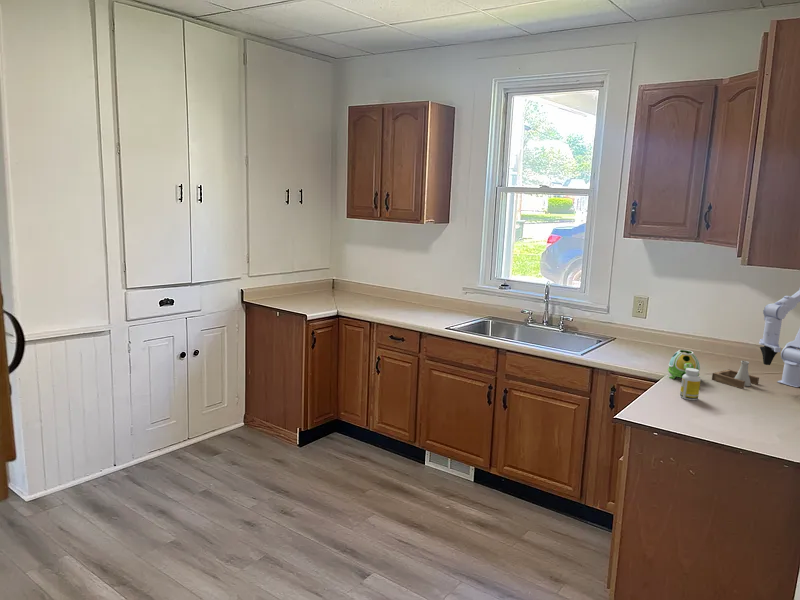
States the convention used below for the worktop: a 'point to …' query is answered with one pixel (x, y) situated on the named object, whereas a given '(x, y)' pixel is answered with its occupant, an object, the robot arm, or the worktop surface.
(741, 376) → the flask
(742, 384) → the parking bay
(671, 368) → the turtle holder
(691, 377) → the pill bottle
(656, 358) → the worktop surface
